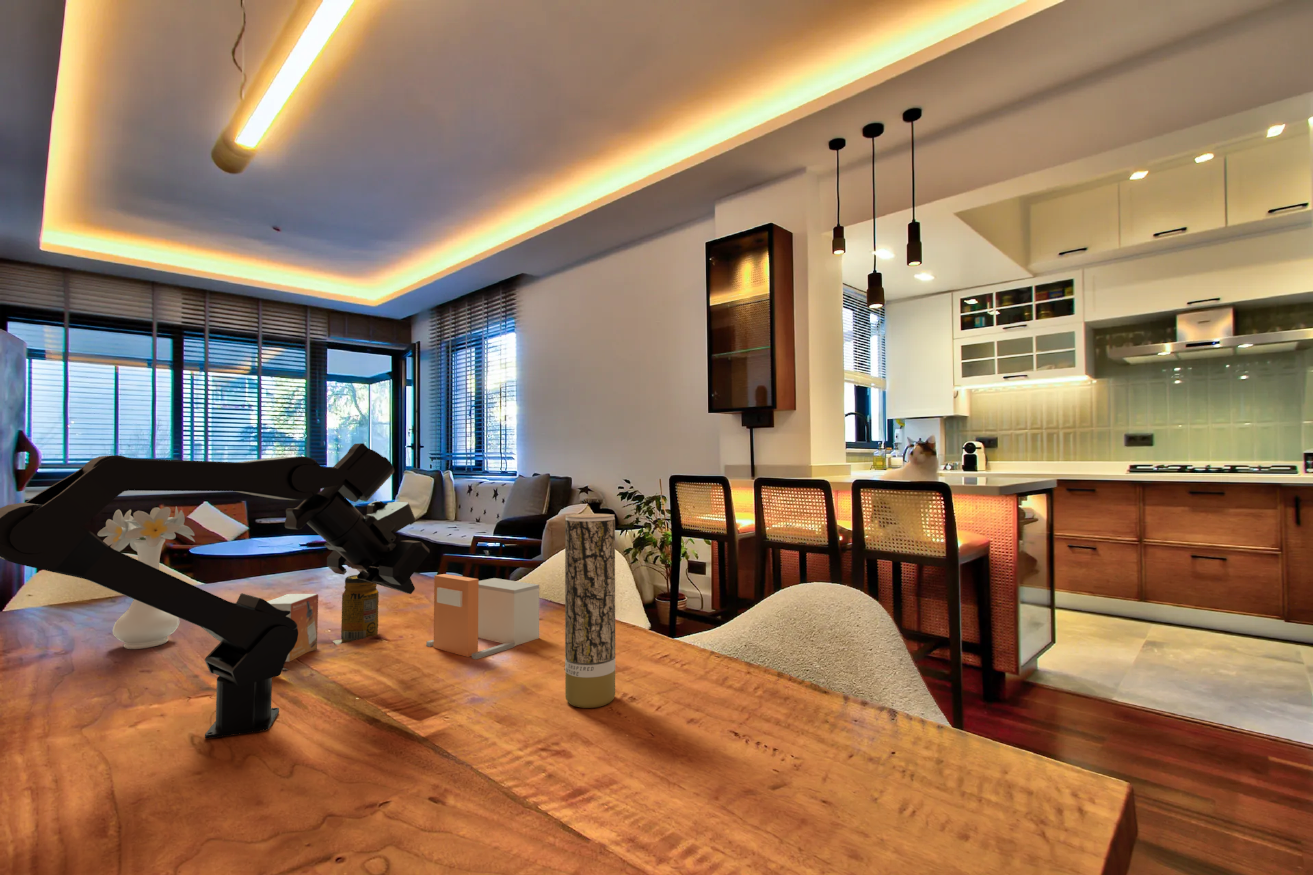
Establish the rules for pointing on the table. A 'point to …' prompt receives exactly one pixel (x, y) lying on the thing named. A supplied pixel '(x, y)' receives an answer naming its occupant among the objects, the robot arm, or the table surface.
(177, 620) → the flower vase
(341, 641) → the condiment
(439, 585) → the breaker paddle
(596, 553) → the paper tube
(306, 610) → the small box
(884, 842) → the table surface
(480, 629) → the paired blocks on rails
